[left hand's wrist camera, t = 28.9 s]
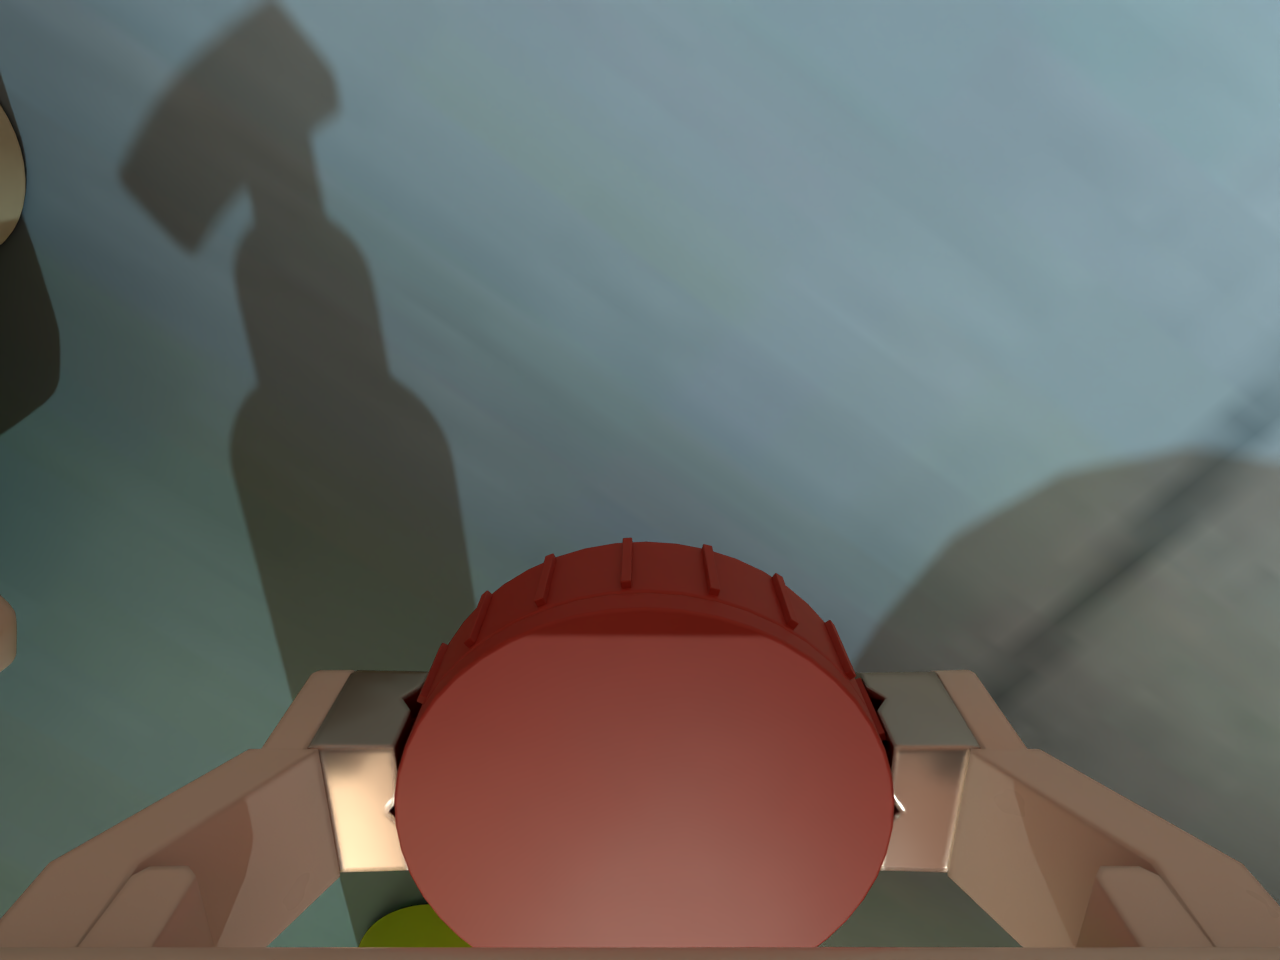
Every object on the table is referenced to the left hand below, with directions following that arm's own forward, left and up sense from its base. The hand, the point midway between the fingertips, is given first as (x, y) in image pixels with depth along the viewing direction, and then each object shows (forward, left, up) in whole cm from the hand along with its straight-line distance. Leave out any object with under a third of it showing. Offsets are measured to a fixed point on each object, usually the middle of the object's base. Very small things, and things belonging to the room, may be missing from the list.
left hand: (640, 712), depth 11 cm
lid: (0, 0, +2) cm, 2 cm away
